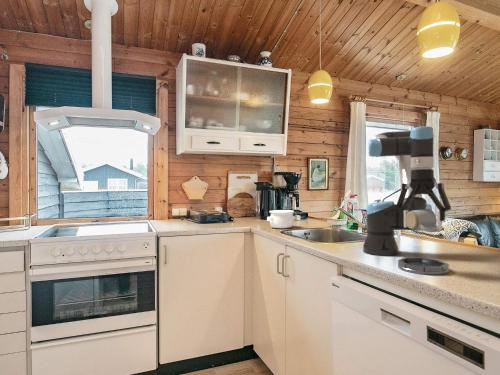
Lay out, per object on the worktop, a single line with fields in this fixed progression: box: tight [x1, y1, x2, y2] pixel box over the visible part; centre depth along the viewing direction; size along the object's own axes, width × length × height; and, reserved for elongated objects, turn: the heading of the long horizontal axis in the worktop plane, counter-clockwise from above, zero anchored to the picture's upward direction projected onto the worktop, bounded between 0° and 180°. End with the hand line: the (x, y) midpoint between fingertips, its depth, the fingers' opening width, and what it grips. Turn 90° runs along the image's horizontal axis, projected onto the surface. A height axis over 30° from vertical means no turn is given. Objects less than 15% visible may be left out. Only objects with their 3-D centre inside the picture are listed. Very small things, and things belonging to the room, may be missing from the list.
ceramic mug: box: [405, 209, 438, 233], centre depth 119 cm, size 11×8×8 cm
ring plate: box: [397, 256, 450, 276], centre depth 120 cm, size 17×17×2 cm
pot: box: [266, 209, 296, 229], centre depth 235 cm, size 22×17×12 cm
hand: (422, 228), depth 120 cm, fingers closed on ceramic mug, 11 cm apart
